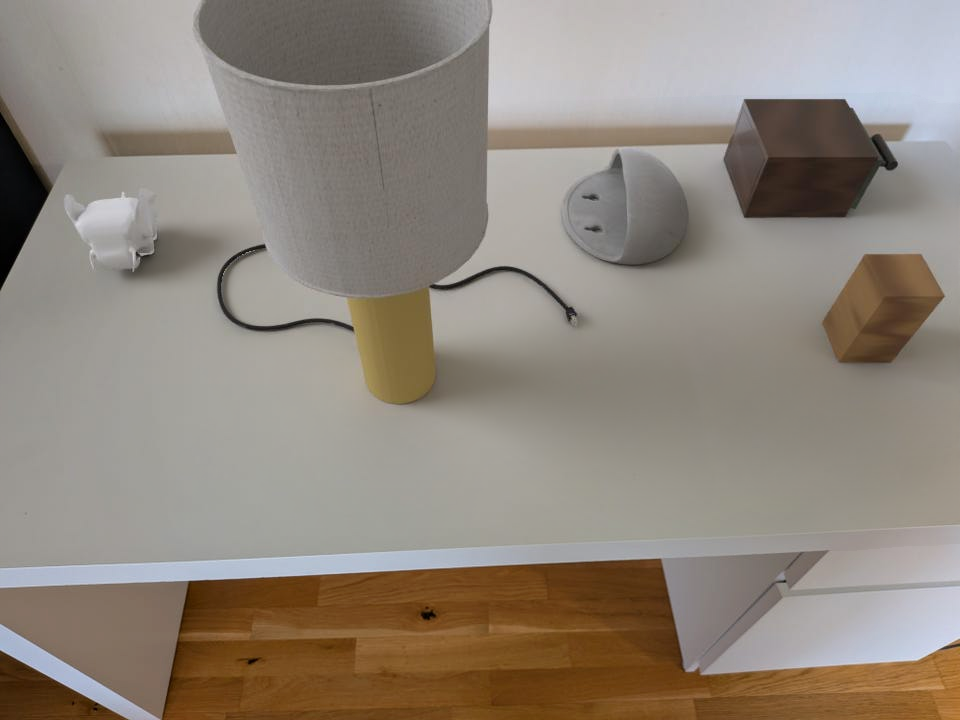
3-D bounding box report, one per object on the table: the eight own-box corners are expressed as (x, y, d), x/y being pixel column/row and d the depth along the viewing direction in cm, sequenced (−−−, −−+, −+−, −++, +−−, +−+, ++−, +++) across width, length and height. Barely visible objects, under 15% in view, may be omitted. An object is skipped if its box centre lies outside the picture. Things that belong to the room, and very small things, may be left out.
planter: (712, 226, 79) (571, 222, 79) (695, 270, 85) (564, 266, 85) (687, 129, 90) (564, 126, 91) (674, 174, 96) (559, 171, 96)
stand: (872, 321, 80) (921, 253, 71) (891, 362, 76) (945, 296, 67) (821, 321, 80) (864, 253, 71) (838, 362, 76) (885, 296, 67)
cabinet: (816, 159, 98) (845, 98, 91) (845, 217, 91) (879, 157, 83) (723, 159, 98) (743, 98, 91) (743, 217, 91) (768, 157, 83)
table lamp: (230, 491, 66) (1, 139, 34) (215, 255, 86) (61, -109, 54) (613, 400, 73) (720, 34, 41) (519, 200, 92) (542, -153, 60)
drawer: (858, 156, 97) (884, 107, 91) (887, 209, 90) (917, 160, 84) (741, 156, 97) (759, 107, 91) (762, 209, 90) (783, 160, 84)
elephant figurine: (82, 292, 82) (45, 237, 75) (101, 225, 89) (69, 169, 82) (164, 284, 83) (134, 229, 76) (176, 218, 90) (150, 163, 83)
